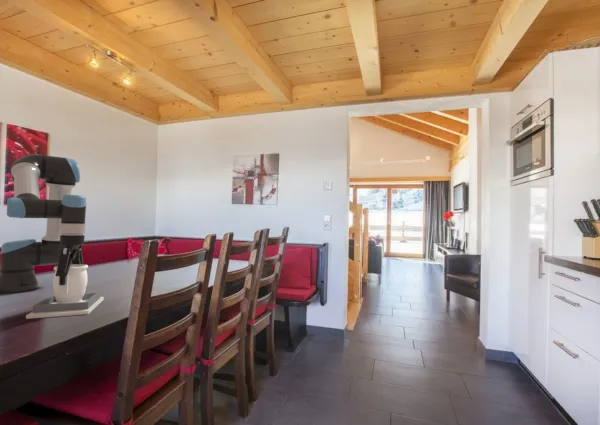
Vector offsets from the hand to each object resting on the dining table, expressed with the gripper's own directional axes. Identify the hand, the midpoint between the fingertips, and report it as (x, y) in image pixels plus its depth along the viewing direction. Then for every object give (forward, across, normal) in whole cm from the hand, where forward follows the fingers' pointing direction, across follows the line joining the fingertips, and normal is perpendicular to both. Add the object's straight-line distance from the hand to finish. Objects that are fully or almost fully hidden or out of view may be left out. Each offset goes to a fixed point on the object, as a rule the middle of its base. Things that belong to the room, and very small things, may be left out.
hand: (70, 289), depth 112 cm
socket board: (+7, 0, 0) cm, 7 cm away
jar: (+6, 0, 0) cm, 6 cm away
